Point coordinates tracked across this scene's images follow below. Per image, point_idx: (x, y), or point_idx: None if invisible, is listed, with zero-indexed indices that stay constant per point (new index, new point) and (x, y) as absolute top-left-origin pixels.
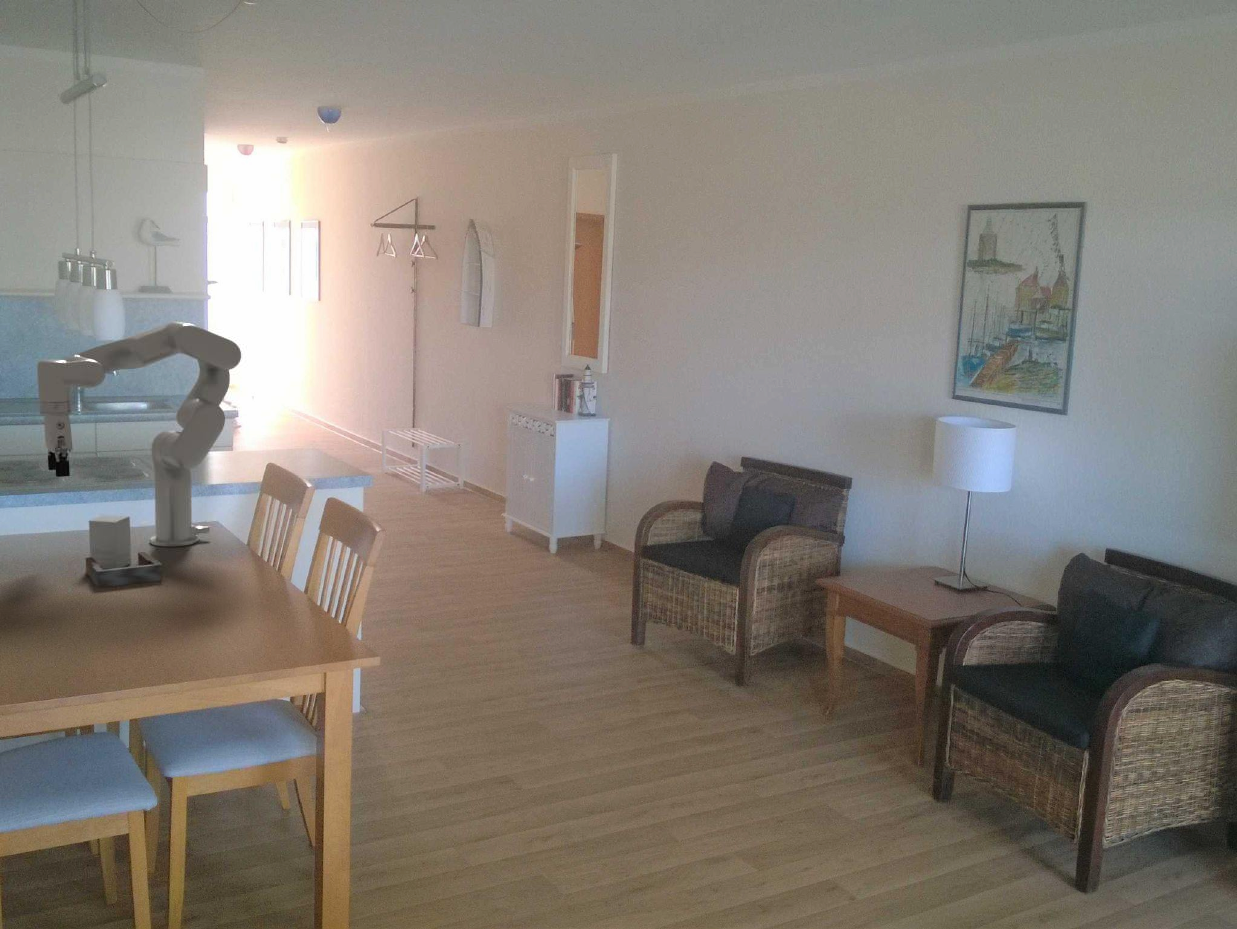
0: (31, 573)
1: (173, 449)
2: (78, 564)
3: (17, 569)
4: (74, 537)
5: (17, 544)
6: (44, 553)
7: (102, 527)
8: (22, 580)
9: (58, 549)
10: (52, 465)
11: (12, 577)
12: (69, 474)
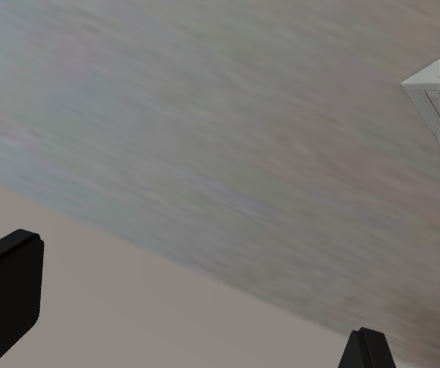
0: (381, 302)
1: None
2: (377, 166)
3: (315, 307)
4: (47, 29)
5: (57, 194)
6: (190, 183)
7: None
8: (434, 348)
9: (167, 133)
10: (14, 322)
11: None
12: (385, 339)
